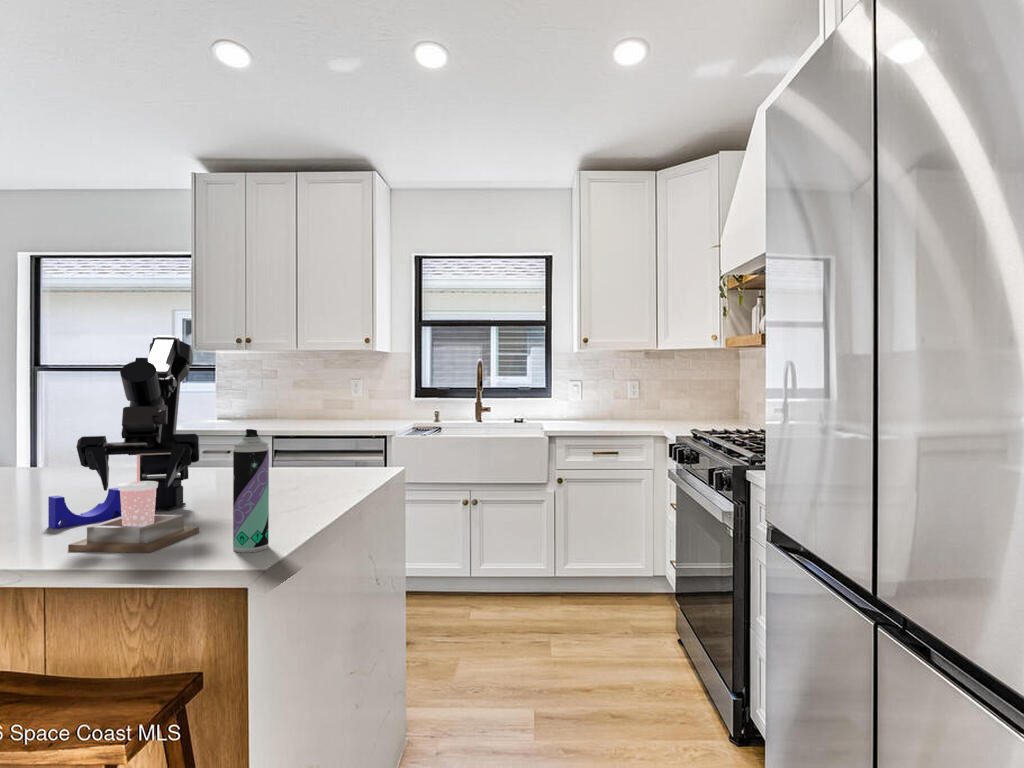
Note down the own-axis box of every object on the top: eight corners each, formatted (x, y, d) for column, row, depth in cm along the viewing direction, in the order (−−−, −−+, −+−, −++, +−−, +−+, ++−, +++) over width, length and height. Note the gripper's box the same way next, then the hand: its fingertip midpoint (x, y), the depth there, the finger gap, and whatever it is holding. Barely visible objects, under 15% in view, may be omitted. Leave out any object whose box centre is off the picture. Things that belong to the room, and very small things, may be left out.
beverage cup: (154, 537, 107) (154, 456, 107) (113, 540, 105) (113, 457, 104) (161, 529, 112) (161, 452, 112) (122, 532, 110) (122, 453, 110)
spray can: (225, 551, 102) (225, 429, 102) (248, 542, 107) (249, 427, 107) (253, 553, 100) (253, 430, 100) (275, 545, 106) (275, 428, 106)
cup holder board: (68, 550, 102) (68, 529, 102) (126, 530, 116) (126, 511, 116) (149, 552, 101) (149, 531, 101) (199, 531, 115) (199, 513, 115)
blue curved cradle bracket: (112, 515, 129) (112, 487, 129) (123, 518, 127) (123, 489, 127) (45, 526, 119) (45, 495, 119) (55, 530, 117) (55, 498, 117)
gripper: (79, 390, 108) (62, 461, 98) (198, 390, 116) (195, 455, 106) (88, 432, 115) (74, 501, 105) (200, 429, 123) (197, 494, 113)
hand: (136, 487), depth 107 cm, fingers open, 9 cm apart
